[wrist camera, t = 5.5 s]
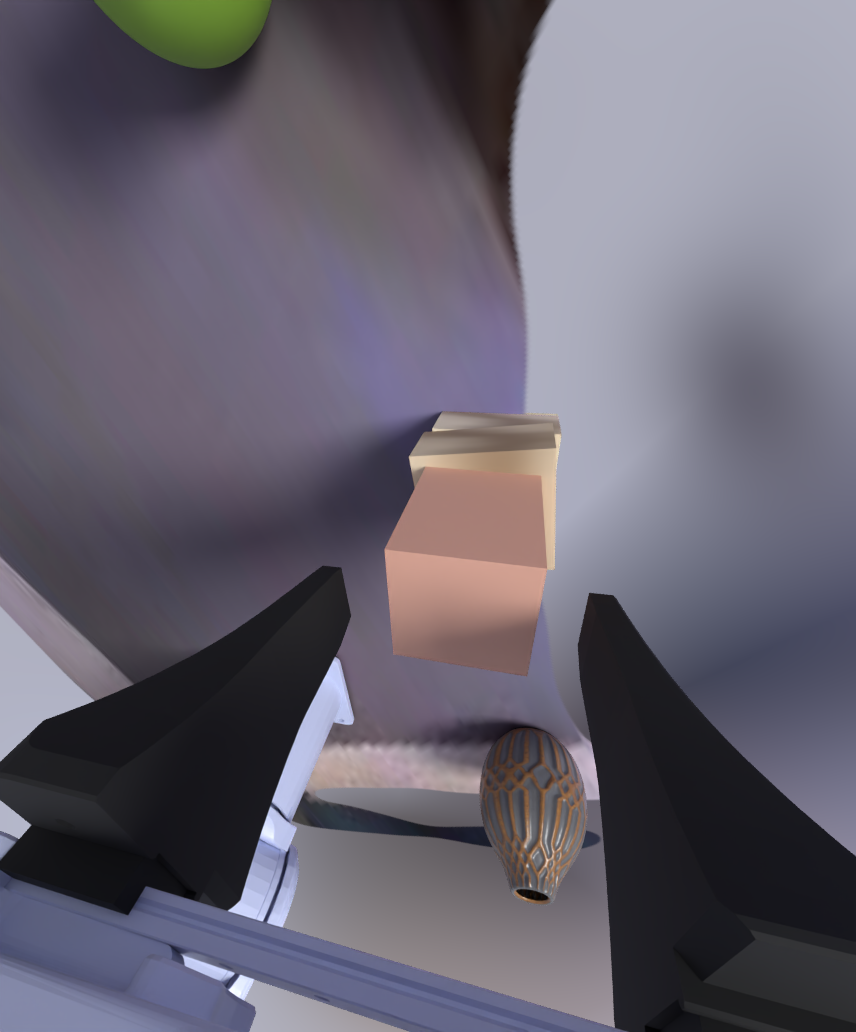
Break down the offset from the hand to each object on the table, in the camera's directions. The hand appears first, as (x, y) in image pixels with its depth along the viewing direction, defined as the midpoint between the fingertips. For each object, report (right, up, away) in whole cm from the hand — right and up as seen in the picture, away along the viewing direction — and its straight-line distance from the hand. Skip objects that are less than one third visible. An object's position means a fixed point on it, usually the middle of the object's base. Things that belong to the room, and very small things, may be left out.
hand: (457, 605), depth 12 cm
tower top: (+2, +4, +5) cm, 7 cm away
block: (+1, +2, +3) cm, 4 cm away
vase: (+7, -14, +18) cm, 24 cm away
